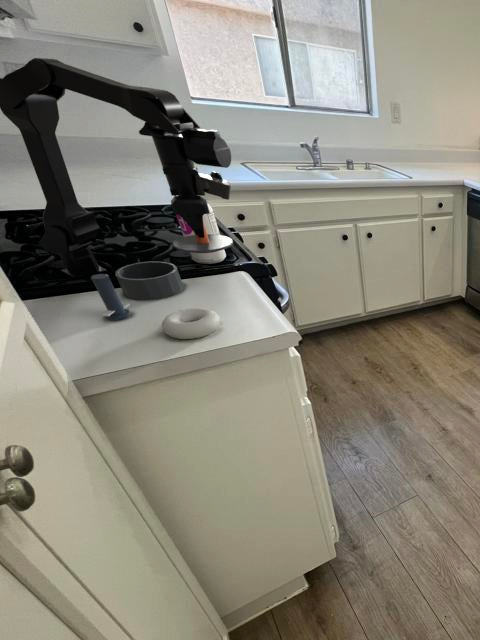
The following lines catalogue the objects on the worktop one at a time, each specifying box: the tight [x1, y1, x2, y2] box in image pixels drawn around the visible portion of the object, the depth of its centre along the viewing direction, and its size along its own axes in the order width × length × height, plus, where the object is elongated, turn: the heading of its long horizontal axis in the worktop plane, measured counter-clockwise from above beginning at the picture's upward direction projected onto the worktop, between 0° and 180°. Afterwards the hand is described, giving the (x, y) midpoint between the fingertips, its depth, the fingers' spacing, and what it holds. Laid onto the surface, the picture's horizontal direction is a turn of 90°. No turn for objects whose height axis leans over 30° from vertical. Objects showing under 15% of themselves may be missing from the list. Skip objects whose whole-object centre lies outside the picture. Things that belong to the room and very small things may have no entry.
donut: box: [161, 307, 221, 340], centre depth 86 cm, size 10×4×10 cm
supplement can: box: [175, 201, 227, 265], centre depth 111 cm, size 8×8×15 cm
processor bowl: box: [114, 260, 185, 301], centre depth 97 cm, size 11×11×5 cm
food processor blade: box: [90, 273, 131, 321], centre depth 85 cm, size 7×4×9 cm, turn 6°
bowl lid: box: [172, 223, 234, 253], centre depth 96 cm, size 12×12×6 cm
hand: (201, 235), depth 97 cm, fingers closed on bowl lid, 2 cm apart
